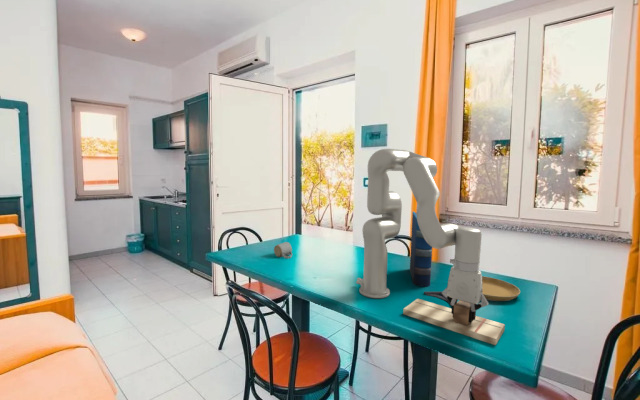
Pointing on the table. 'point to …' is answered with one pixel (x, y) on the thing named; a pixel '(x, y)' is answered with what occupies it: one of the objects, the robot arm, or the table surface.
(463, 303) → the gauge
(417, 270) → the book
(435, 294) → the bracket
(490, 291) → the plant saucer
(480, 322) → the board
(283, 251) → the ceramic mug
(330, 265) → the table surface
